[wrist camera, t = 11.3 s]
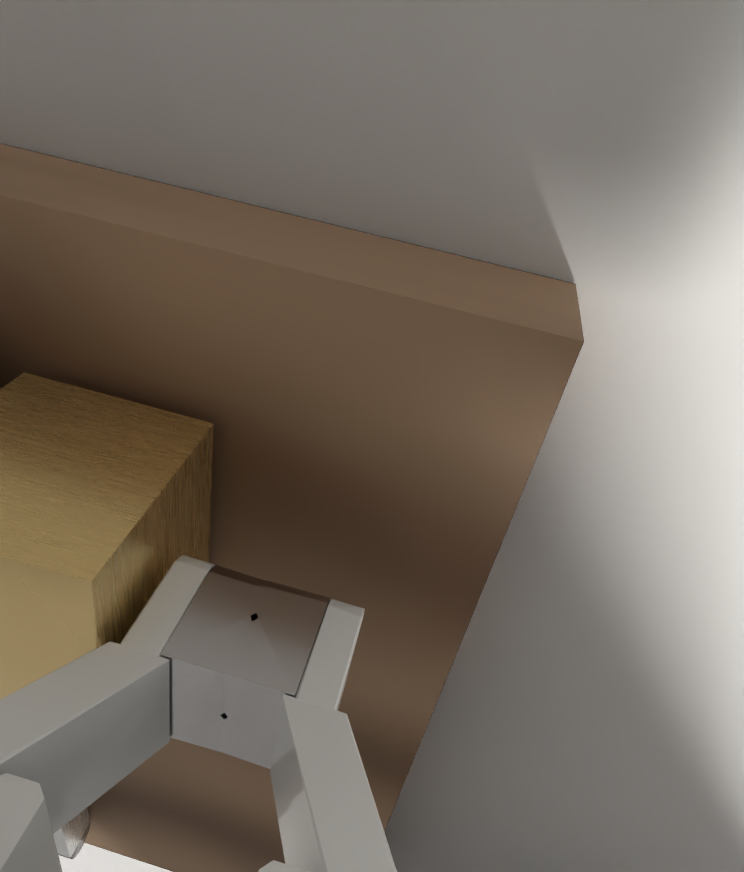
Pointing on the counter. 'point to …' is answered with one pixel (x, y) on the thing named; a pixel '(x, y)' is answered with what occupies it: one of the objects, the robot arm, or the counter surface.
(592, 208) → the counter surface
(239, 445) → the brown square board
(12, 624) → the block
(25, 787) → the robot arm
